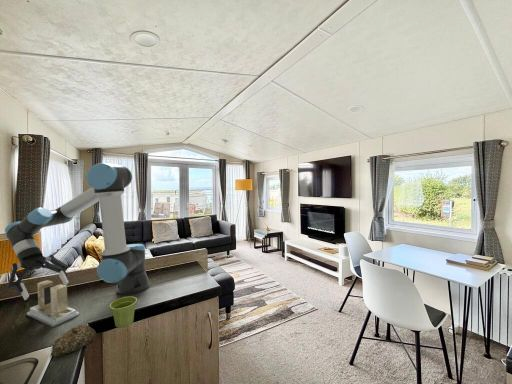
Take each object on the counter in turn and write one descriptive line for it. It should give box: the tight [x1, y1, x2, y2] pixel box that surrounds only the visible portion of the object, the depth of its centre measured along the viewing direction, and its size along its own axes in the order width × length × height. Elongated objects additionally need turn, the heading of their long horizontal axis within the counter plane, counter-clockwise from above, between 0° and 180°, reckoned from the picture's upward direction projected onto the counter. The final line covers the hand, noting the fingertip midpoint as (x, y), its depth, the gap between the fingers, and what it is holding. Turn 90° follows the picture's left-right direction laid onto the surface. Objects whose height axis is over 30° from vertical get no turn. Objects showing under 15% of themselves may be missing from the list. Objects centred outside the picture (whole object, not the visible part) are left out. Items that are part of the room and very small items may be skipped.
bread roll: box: [50, 324, 97, 358], centre depth 79 cm, size 13×12×5 cm
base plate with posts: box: [26, 283, 80, 328], centre depth 95 cm, size 20×9×13 cm, turn 66°
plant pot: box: [109, 296, 138, 329], centre depth 89 cm, size 9×9×9 cm
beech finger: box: [37, 279, 54, 312], centre depth 97 cm, size 5×4×12 cm
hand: (48, 290), depth 96 cm, fingers open, 13 cm apart
